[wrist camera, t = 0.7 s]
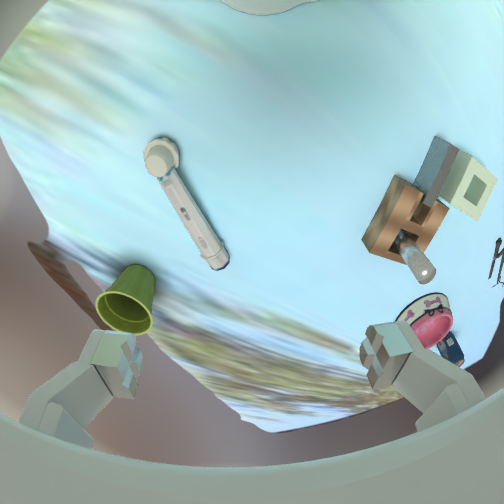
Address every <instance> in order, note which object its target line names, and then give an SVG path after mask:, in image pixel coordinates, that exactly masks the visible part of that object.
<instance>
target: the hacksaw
mask: <svg viewBox="0 0 504 504" xmlns="http://www.w3.org/2000/svg"><path fill="white" fill-rule="evenodd" d="M501 242H502V240H501V238H500V239H498V240H497V241H496V248H495V253H494V258H493V259H494V260H493V263H492V267H491V271H490V274H489V278H490V277H491V275H492V272H493V268H494V264H495V260H496V258H499V256H501V255H502V254H503V256H502V260H501V265H500V269H499V274H498V279H497V284H498V282H500V280H499V278H501V276H500V274H501V270H502V266H503V263H504V249H503V250H502V251H501V252H500V253H499V254H498V251H499V247H500V245H501ZM489 278H488V279H489ZM500 283H503V282H500ZM497 284H496V285H497ZM496 285H494V286H496ZM503 285H504V283H503ZM494 286H493V287H494ZM502 287H503V286H502Z"/></svg>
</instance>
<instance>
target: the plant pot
mask: <svg viewBox="0 0 504 504" xmlns="http://www.w3.org/2000/svg"><path fill="white" fill-rule="evenodd" d="M154 286H155V278H154V275H153V274H152V272H151V271H150V270H148V269H146V268H144V267H143V266H141V265H130V266H128V267H127V268H126V269H125V270H124V271H123V272H122V274H121V275H120V276H119V277H118V278H117V280H116V281H115V282H114V283H113V284H112V286H111V287H110V288H108V289H107V290H106V291H105V292H103V293H101V294H100V295H99V296H98V297H97V299H96V310H97V312H98V314H99V316H100V317H101V319H102V320H103V321H104V322H105V323H106V324H107V325H109V326H110V327H112V328H113V329H115V330H117V331H119V332H126V333H133V334H134V335H141V334H145V333H147V332H149V331H150V330H151V328H152V326H153V317H152V301H153V293H154Z"/></svg>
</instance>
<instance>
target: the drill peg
mask: <svg viewBox="0 0 504 504" xmlns="http://www.w3.org/2000/svg"><path fill="white" fill-rule="evenodd" d="M393 245H394V246H395V248H396V249H397V250H398V252H399V253H400V255H401V256H402V258H403V259H404V261H405V262H406V264H407V265H408V267H409V268H410V270H411V271H412V273H413V274H414V276H415V277H416V279H417V280H418V282H419V283H420V284H427V283H429V282H430V281H431V280H432V279H433V278H434V277H435V274H436V269H435V267H434V266H433V265H432V263H431V262H430V261H429V259H428V258H427V257H426V256H425V254H424V253H423V252H422V250H421V249H420V248H419V247H418V245H417V244H416V243H415V242H414V240H413V239H412V238H411V237H410V235H409V234H408V233H407V232H406V231H405V230H404V229H400V231H399V233H398V235H397V236H396V238H395V240H394V241H393Z"/></svg>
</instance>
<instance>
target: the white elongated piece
mask: <svg viewBox="0 0 504 504" xmlns="http://www.w3.org/2000/svg"><path fill="white" fill-rule="evenodd" d="M178 151H179V150H178V148H177V146H176V144H175V143H173V142H172V141H170V140H169V139H168V138H164V137H159V138H157V139H154V140H152V141H151V142H149V143H148V144H147V146H146V148H145V150H144V161H145V166H146V169H147V170H148V172H149V174H151V175H152V176H154V177H157V179H158V181H159V183H160V185H161V186H162V188H163V190H164V192H165V193H166V195H167V197H168V198H169V200H170V202H171V204H172V205H173V207H174V209H175V211H176V212H177V214H178V216H179V217H180V219H181V221H182V222H183V224H184V226H185V227H186V229H187V231H188V232H189V234H190V236H191V237H192V239H193V241H194V242H195V244H196V246H197V247H198V249H199V251H200V252H201V258H204V259H205V260H206V261H207V263H208V264H209V266H210V267H211V268H212V269H213V270H215V271H218V270H221V269H224V268H225V267H226V266H227V265H228V264H229V263H230V257H229V255H228V253H227V252H226V250H225V248H224V243H223V242H221V241H220V240H219V239H218V237H217V236H216V234H215V233H214V231H213V230H212V228H211V226H210V225H209V223H208V222H207V220H206V219H205V217H204V215H203V214H202V212H201V211H200V209H199V207H198V206H197V204H196V203H195V201H194V200H193V198H192V196H191V195H190V193H189V192H188V190H187V188H186V187H185V185H184V184H183V182H182V180H181V179H180V177H179V176H178V174H177V172H176V169H177V167H178V165H179V152H178Z"/></svg>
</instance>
